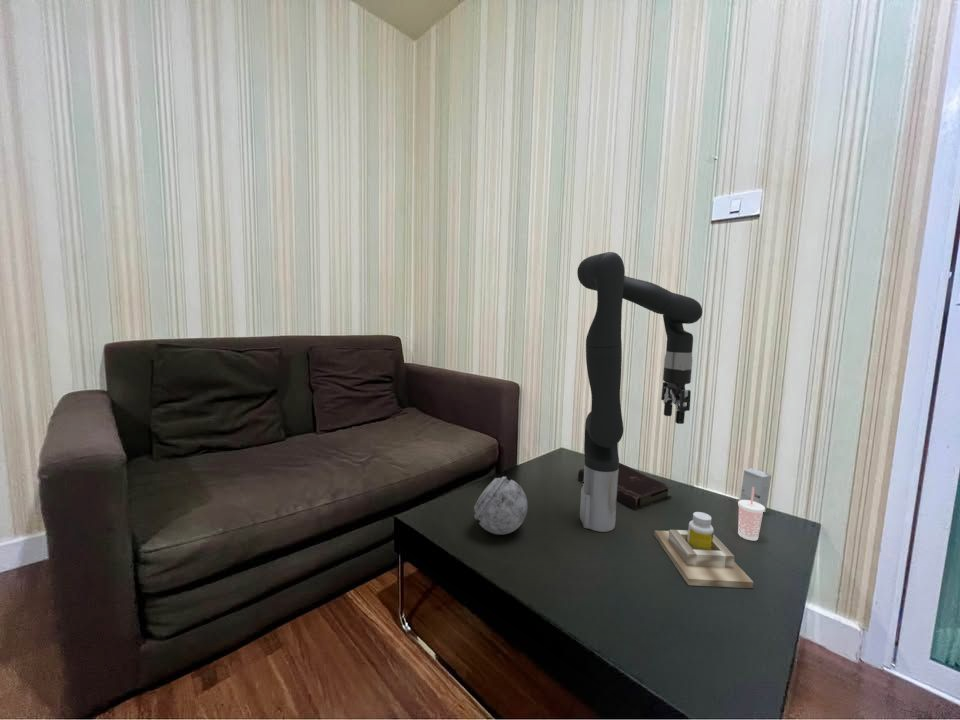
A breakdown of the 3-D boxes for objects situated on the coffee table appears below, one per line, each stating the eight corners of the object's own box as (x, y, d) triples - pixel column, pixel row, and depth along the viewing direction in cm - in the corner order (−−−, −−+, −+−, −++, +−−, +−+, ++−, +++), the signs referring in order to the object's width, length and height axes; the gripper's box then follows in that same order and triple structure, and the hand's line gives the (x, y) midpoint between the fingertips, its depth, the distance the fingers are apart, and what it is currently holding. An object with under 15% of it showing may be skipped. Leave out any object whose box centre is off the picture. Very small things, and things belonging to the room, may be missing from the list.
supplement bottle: (714, 561, 97) (718, 522, 95) (690, 558, 98) (693, 519, 97) (706, 548, 102) (710, 511, 101) (683, 545, 103) (686, 509, 102)
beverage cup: (741, 541, 108) (746, 491, 107) (730, 528, 114) (735, 481, 113) (766, 543, 107) (772, 493, 106) (754, 530, 114) (759, 483, 112)
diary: (634, 513, 124) (635, 497, 123) (577, 482, 145) (578, 469, 145) (673, 499, 133) (674, 484, 132) (614, 472, 154) (614, 459, 154)
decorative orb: (484, 513, 120) (485, 464, 119) (532, 523, 115) (534, 472, 113) (465, 538, 107) (466, 484, 105) (518, 551, 102) (520, 494, 100)
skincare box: (738, 505, 128) (742, 469, 127) (747, 503, 130) (751, 467, 128) (758, 515, 123) (762, 476, 121) (767, 512, 124) (772, 474, 123)
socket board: (688, 585, 90) (690, 566, 90) (654, 535, 110) (655, 519, 110) (752, 588, 90) (754, 569, 89) (706, 537, 109) (708, 522, 109)
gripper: (655, 363, 128) (652, 413, 130) (675, 369, 114) (670, 425, 116) (679, 363, 128) (675, 413, 130) (702, 370, 114) (697, 426, 116)
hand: (673, 419), depth 123 cm, fingers open, 8 cm apart
